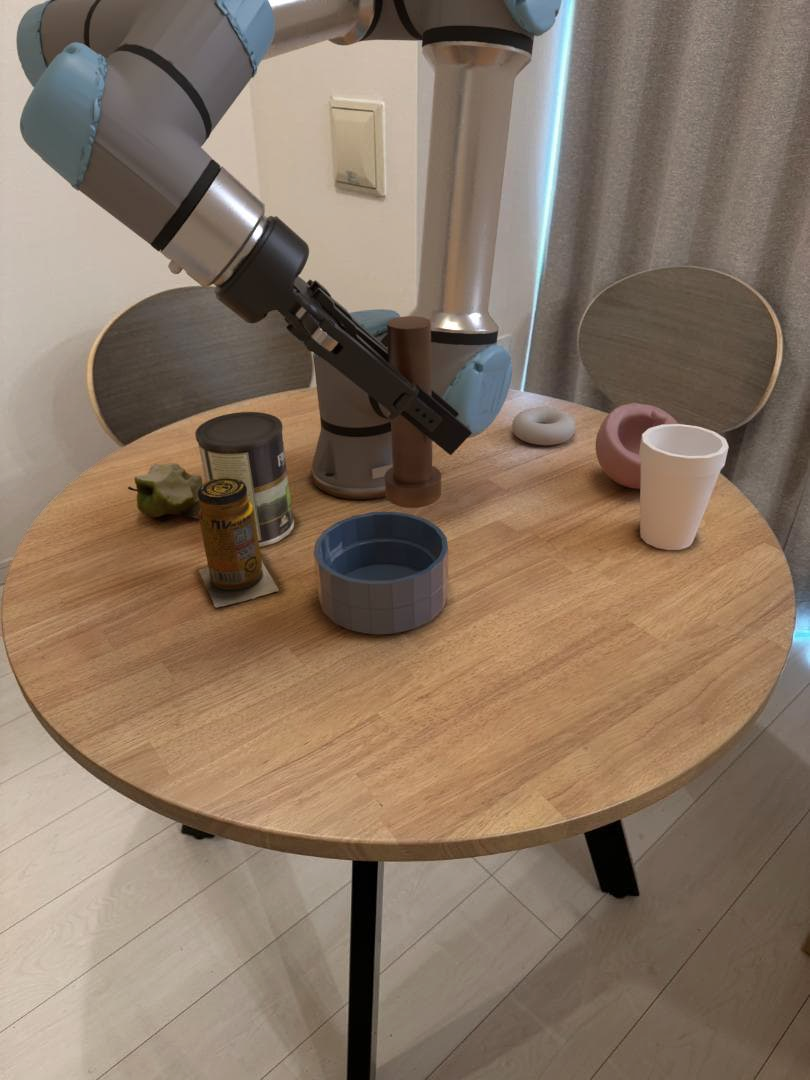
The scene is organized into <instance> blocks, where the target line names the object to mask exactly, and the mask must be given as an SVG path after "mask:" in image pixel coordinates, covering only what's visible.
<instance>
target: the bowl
mask: <svg viewBox="0 0 810 1080" xmlns="http://www.w3.org/2000/svg"><path fill="white" fill-rule="evenodd" d="M314 543H315V544H314V549H313V559H314V568H315V576H316V586H317V587H316V588H317V595H318V602H319V605H320V607H321V609H322V613H323V614H324V615H326V616H327V617H328V618H329V619H330V620H331V621H332V622H333V623H334V624H336V625H338V626H339V627H343V628H344V629H347V630H349V631H351V632H359V633H362V634H368V635H394V634H399V633H403V632H407V631H410V630H414V629H416V628H418V627H421V626H423V625H425V624H426V623H429V622H431V621H433V619H434V618H435V617H436V616H437V615H438V614H440V613H441V612H442V611H443V610H444V607H445V605H446V603H447V601H448V598H449V543H448V537H447V536H446V535H445V533H444V532H443V530H442V529H441V528H440V527H439V526H438V525H436V524H434V523H433V522H431V521H430V520H428V519H426V518H423V517H420V516H417V515H414V514H411V513H405V512H397V511H372V512H371V511H370V512H366V513H365V512H364V513H361V514H355V515H352V516H349V517H346V518H343V519H341V520H338V521H336V522H335V523H333V524H332V525H330V526H329V527H327V528H326V529H324V530H323V531H322V533H321V534H320V535H319V536H318V538H317V539H316V540H315V542H314Z"/></svg>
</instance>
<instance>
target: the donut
mask: <svg viewBox="0 0 810 1080" xmlns="http://www.w3.org/2000/svg"><path fill="white" fill-rule="evenodd" d="M511 429H512V432H513V434H514V435H515V437H516V438H518V439H519V440H520V441H522V442H524V443H528V444H530V445H535V446H555V445H559V444H563V443H565V442H567V441H569V440H570V439H572V437H573V436H574V434H575V433H576V430H577V427H576V421H575V418H573V417H572V415H570V414H569V413H567V412H566V411H564V410H561V409H557V408H553V407H543V406H542V407H541V406H539V407H532V408H528V409H524V410H522V411H520V412H519V413H517V414H516V416H514V418H513V420H512V425H511Z"/></svg>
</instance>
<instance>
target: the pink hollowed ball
mask: <svg viewBox="0 0 810 1080" xmlns="http://www.w3.org/2000/svg"><path fill="white" fill-rule="evenodd" d="M666 424H679V423H678V421H677V420H675V418H674V417H673V416H672V415H670V414H669V413H668V412H666V411H665V410H663V409H661V408H659V407H656V406H655V405H651V404H644V403H639V402H631V403H626V404H620V405H619V406H617V407H616V408H614V409H612V410H611V411H610V412H609V413H608V415H606V417H605V418H604V419H603V421H602V422H601V424H600V426H599V429H598V431H597V433H596V438H595V454H596V458H597V461H598V464H599V465H600V467H601V469H602V471H603V472H604V473H605V475H606V476H607V477H608V478H610V479H611V480H612V481H613V482H614V483H617V484H619V485H620V486H623V487H625V488H630V489H635V490H640V485H641V460H640V455H639V451H640V444H641V438H642V434H643V433H644V432H645V431H646V430H648V429H649V428H652V427H656V426H659V425H666Z"/></svg>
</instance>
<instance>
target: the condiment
mask: <svg viewBox="0 0 810 1080" xmlns="http://www.w3.org/2000/svg"><path fill="white" fill-rule="evenodd" d="M198 498H199V505H200V508H201V509H200V511H199V515H198V516H199V519H198V522H199V527H200V533H201V536H202V542H203V548H204V552H205V557H206V562H207V567H204V568H200V569H198V572H199V574H200V576H201V579H202V581H203V584H204V585H205V588H206V590H207V591H208V594H209V596H210V599H211V601H212V603H213V605H214V608H221V607H226V606H229V605H230V606H231V605H234V604H237V603H242V602H246V601H249V600H254V599H257V598H259V597H261V596H267V595H270V594H272V593H275V592H279V591H280V589H279V587H278V585H277V584H276V583H275V580H274V579H273V577H272V576H271V574H270V572H269V571H268V569H267V568H266V565H265V564H264V563H263V560H262V553H261V547H259V542H258V536H257V530H256V522H255V515H254V508H253V506H252V504H251V503H250V502H249V497H248V494H247V487H246V485H245V483H244V482H243V481H241V480H239V479H236V478H231V477H226V478H217V479H213V480H210V481H208V482H206V481H205V482H204V483H202V486H201V487H200V488H199V490H198Z"/></svg>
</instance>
